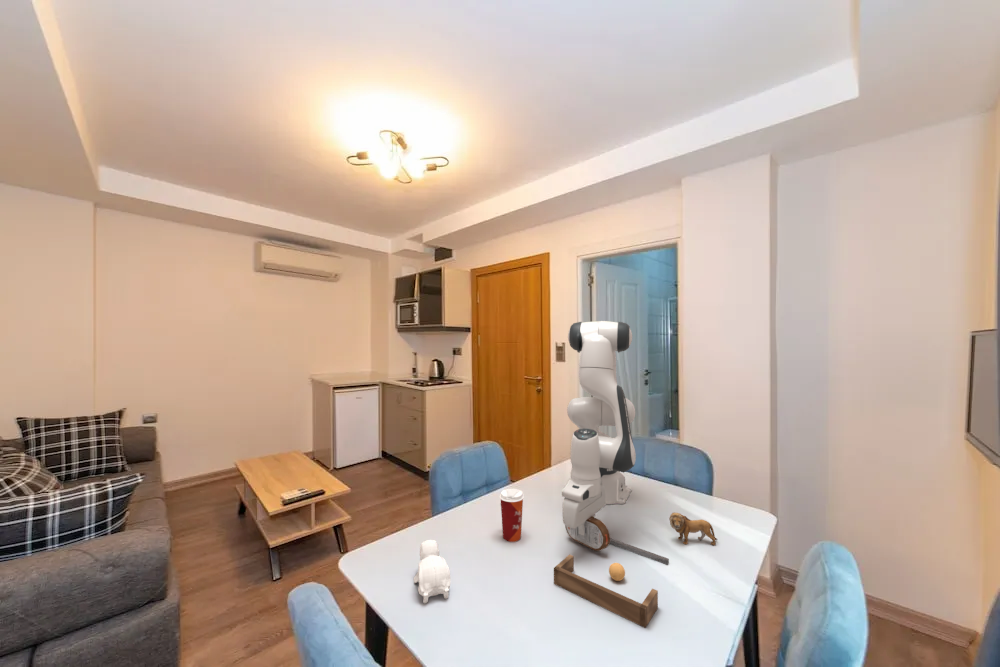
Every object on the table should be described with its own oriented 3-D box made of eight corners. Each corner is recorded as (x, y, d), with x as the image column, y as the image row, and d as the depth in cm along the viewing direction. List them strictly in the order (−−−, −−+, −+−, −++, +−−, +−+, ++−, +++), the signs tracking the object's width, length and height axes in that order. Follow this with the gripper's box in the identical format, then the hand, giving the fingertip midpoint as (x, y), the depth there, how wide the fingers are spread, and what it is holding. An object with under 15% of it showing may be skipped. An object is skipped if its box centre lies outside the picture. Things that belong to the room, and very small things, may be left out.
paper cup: (522, 545, 116) (522, 498, 117) (497, 542, 118) (497, 496, 118) (525, 532, 124) (525, 488, 124) (502, 529, 126) (502, 486, 126)
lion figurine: (674, 547, 115) (674, 517, 115) (666, 538, 120) (665, 509, 120) (722, 545, 116) (722, 515, 116) (711, 536, 121) (711, 507, 121)
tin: (610, 553, 110) (611, 523, 111) (603, 556, 108) (605, 525, 109) (569, 533, 122) (570, 506, 122) (562, 535, 120) (563, 508, 120)
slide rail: (567, 526, 128) (567, 522, 128) (668, 563, 107) (668, 558, 107) (565, 528, 127) (565, 524, 127) (667, 565, 106) (667, 560, 106)
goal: (569, 569, 104) (569, 554, 104) (657, 607, 89) (657, 590, 89) (553, 583, 98) (553, 567, 98) (645, 627, 83) (645, 609, 83)
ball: (612, 572, 103) (612, 557, 103) (627, 578, 100) (627, 563, 100) (606, 580, 100) (606, 564, 100) (621, 586, 97) (621, 570, 97)
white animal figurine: (452, 606, 95) (442, 553, 108) (455, 581, 92) (444, 530, 105) (417, 614, 92) (411, 559, 105) (418, 589, 89) (412, 535, 102)
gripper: (592, 473, 126) (592, 515, 125) (558, 492, 110) (558, 541, 110) (610, 477, 121) (610, 521, 121) (578, 498, 106) (578, 549, 106)
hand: (585, 531), depth 115 cm, fingers closed on tin, 3 cm apart
